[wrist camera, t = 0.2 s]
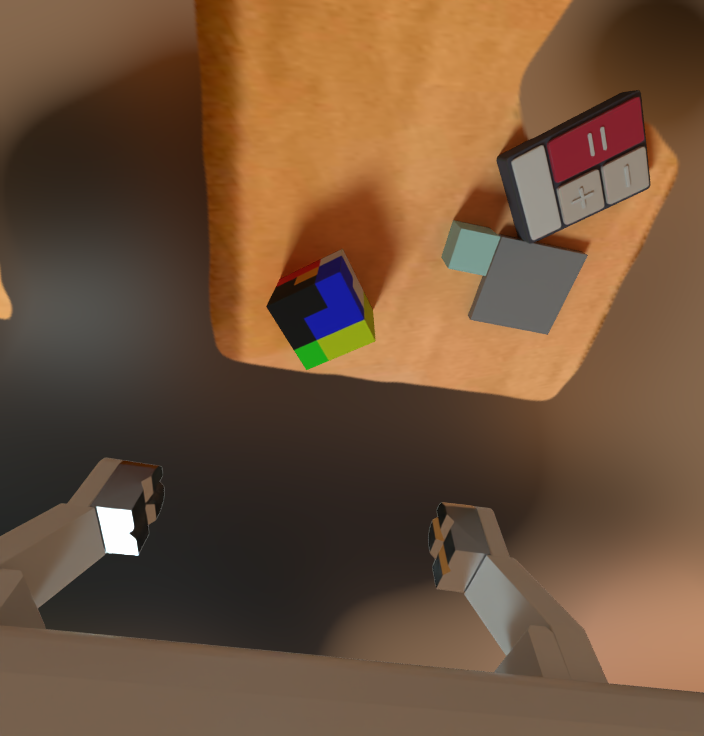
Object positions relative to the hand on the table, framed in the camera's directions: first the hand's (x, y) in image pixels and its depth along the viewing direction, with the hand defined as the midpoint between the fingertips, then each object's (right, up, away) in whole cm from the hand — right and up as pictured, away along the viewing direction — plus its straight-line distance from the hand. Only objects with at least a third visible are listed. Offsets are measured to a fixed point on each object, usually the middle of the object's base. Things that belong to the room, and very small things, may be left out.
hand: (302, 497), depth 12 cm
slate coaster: (+26, +16, +46) cm, 55 cm away
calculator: (+28, +28, +39) cm, 56 cm away
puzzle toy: (-2, +15, +47) cm, 49 cm away
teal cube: (+17, +21, +43) cm, 50 cm away
